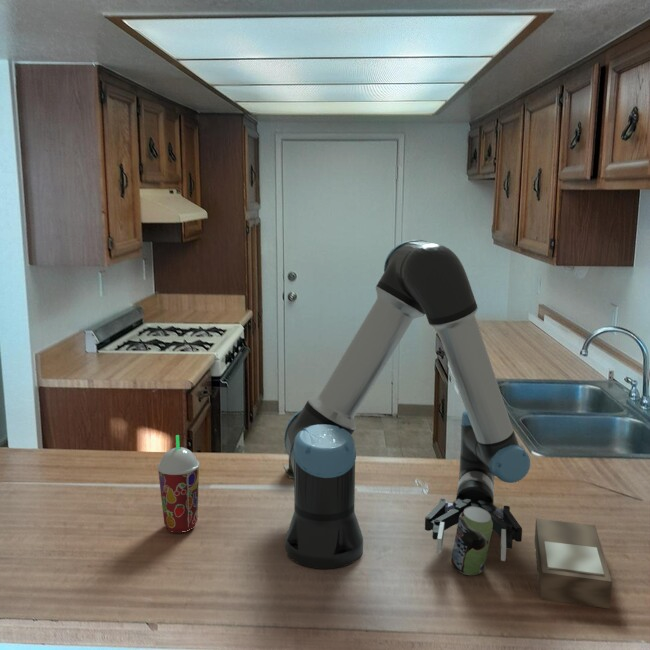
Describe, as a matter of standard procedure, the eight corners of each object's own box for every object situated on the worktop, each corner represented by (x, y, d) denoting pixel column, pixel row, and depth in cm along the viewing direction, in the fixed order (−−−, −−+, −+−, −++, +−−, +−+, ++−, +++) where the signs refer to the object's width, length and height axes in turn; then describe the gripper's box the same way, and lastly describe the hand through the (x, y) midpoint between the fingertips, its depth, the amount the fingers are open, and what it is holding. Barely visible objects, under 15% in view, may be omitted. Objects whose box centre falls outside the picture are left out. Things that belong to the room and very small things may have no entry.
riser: (540, 599, 115) (542, 570, 114) (534, 541, 134) (536, 517, 133) (609, 608, 112) (612, 579, 111) (593, 548, 131) (595, 523, 130)
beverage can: (460, 557, 128) (463, 498, 126) (496, 570, 124) (499, 510, 121) (444, 571, 123) (446, 510, 121) (480, 585, 119) (484, 522, 116)
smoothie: (209, 526, 140) (206, 435, 136) (176, 541, 134) (171, 446, 130) (185, 513, 145) (182, 425, 142) (152, 527, 139) (148, 435, 136)
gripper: (531, 519, 137) (537, 578, 116) (419, 506, 143) (405, 560, 122) (533, 485, 136) (540, 538, 115) (420, 473, 141) (406, 522, 120)
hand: (471, 549), depth 118 cm, fingers open, 10 cm apart
